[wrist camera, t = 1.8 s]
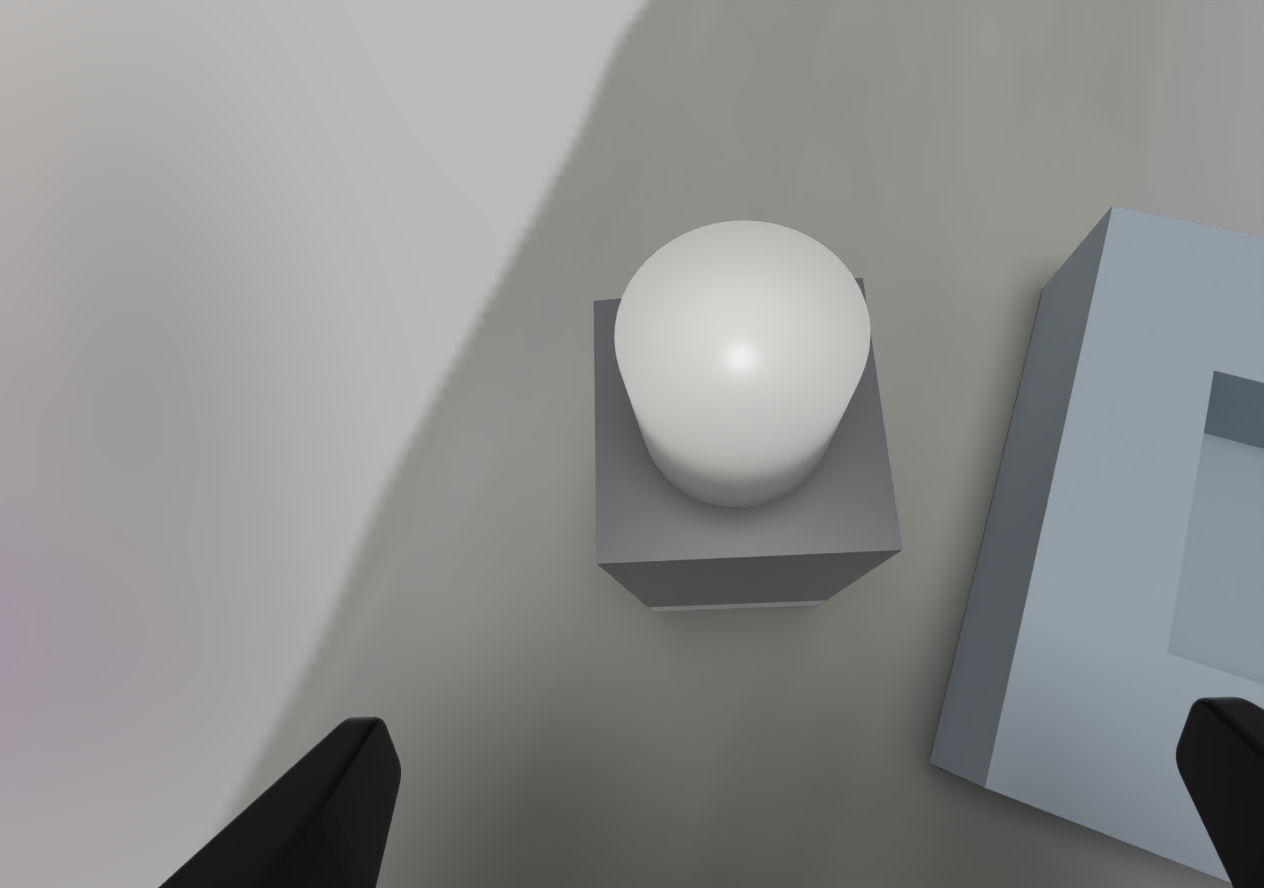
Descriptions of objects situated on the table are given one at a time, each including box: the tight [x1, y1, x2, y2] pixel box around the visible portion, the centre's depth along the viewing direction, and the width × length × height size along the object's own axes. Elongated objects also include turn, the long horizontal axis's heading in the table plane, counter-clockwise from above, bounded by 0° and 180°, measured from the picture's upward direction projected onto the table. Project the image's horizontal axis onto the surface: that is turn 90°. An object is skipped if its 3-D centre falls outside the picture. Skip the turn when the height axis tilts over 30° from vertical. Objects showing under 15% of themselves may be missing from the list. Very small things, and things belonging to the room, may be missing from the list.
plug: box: [594, 221, 902, 612], centre depth 14 cm, size 4×4×12 cm
